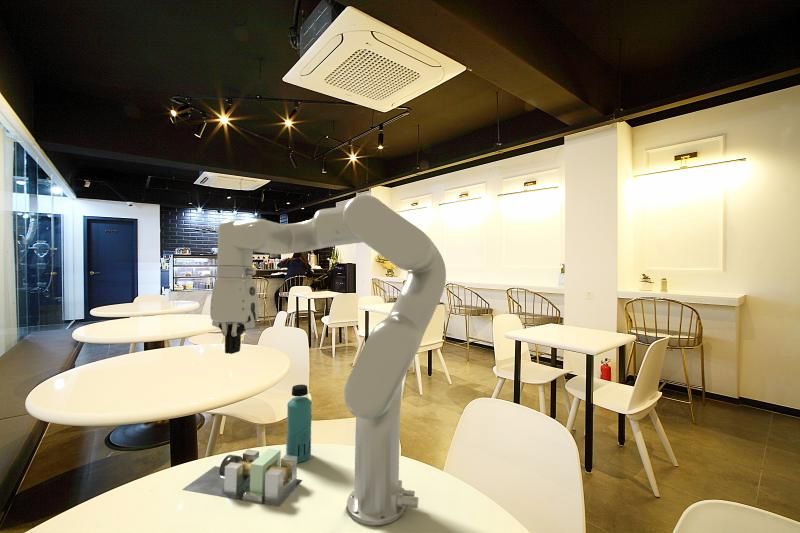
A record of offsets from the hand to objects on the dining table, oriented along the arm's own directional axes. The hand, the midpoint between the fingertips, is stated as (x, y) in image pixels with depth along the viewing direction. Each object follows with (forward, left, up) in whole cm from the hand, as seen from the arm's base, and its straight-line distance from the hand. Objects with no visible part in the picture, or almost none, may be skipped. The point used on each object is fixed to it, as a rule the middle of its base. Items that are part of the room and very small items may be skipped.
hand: (232, 352), depth 83 cm
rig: (-5, 0, -31) cm, 31 cm away
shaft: (-7, 0, -29) cm, 30 cm away
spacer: (-10, 0, -30) cm, 31 cm away
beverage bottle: (-10, -14, -31) cm, 36 cm away
